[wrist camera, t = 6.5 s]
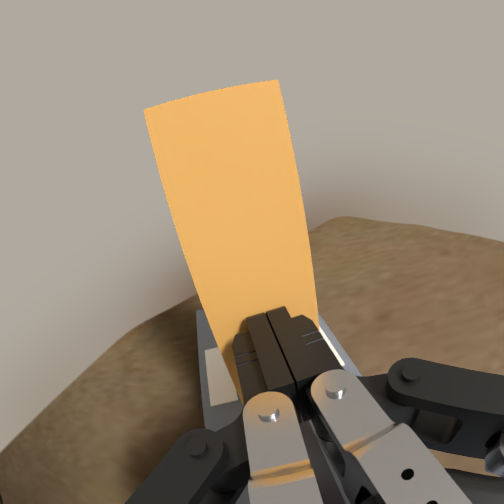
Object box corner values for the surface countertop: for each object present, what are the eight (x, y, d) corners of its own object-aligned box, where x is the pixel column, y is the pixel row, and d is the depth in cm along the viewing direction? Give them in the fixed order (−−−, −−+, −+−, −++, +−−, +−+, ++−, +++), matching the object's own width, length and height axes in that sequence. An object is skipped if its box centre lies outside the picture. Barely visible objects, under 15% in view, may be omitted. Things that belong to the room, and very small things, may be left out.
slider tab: (324, 395, 13) (277, 79, 7) (249, 419, 12) (143, 109, 7) (295, 339, 17) (247, 102, 12) (235, 357, 17) (163, 122, 11)
